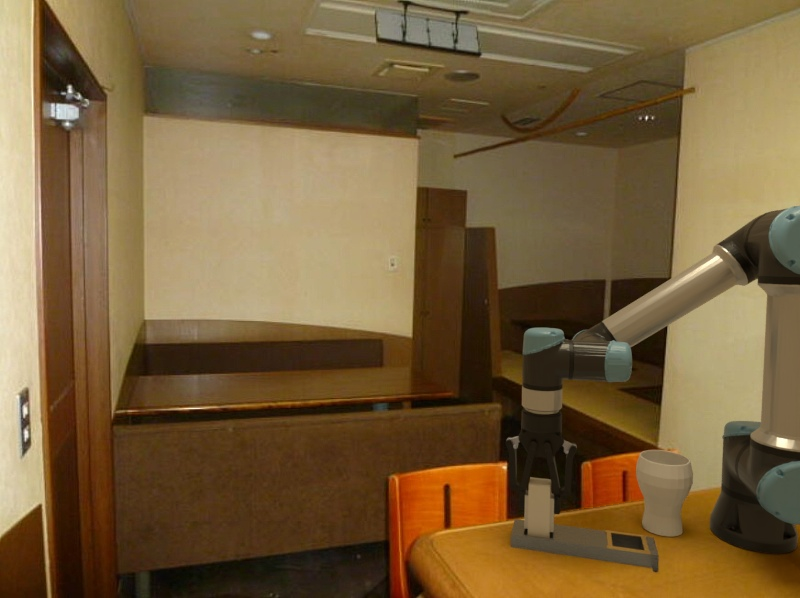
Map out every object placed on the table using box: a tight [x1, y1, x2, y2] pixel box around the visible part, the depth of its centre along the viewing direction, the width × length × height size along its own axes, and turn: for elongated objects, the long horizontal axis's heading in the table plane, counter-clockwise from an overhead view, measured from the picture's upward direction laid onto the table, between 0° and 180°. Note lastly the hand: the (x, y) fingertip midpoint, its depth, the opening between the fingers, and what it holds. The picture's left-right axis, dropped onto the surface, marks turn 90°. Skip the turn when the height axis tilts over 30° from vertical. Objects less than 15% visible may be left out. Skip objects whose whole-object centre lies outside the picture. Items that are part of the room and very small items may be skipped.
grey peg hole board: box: [510, 518, 660, 573], centre depth 110 cm, size 26×7×3 cm, turn 73°
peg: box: [528, 476, 552, 538], centre depth 112 cm, size 4×4×12 cm
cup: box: [635, 449, 694, 537], centre depth 120 cm, size 11×11×15 cm
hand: (539, 527), depth 113 cm, fingers closed on peg, 4 cm apart
